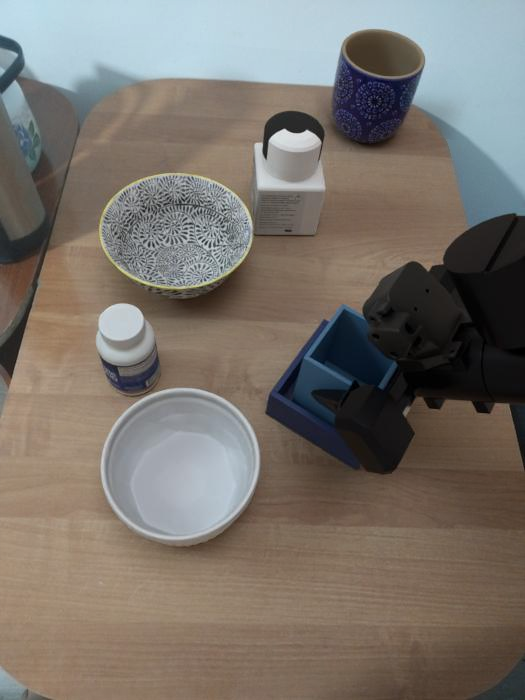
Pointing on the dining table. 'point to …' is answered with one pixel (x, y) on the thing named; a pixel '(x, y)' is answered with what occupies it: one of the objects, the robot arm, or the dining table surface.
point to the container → (288, 176)
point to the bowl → (176, 233)
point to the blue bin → (340, 362)
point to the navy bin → (303, 420)
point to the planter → (375, 84)
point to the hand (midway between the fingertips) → (337, 360)
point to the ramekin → (180, 466)
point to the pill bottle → (127, 349)
